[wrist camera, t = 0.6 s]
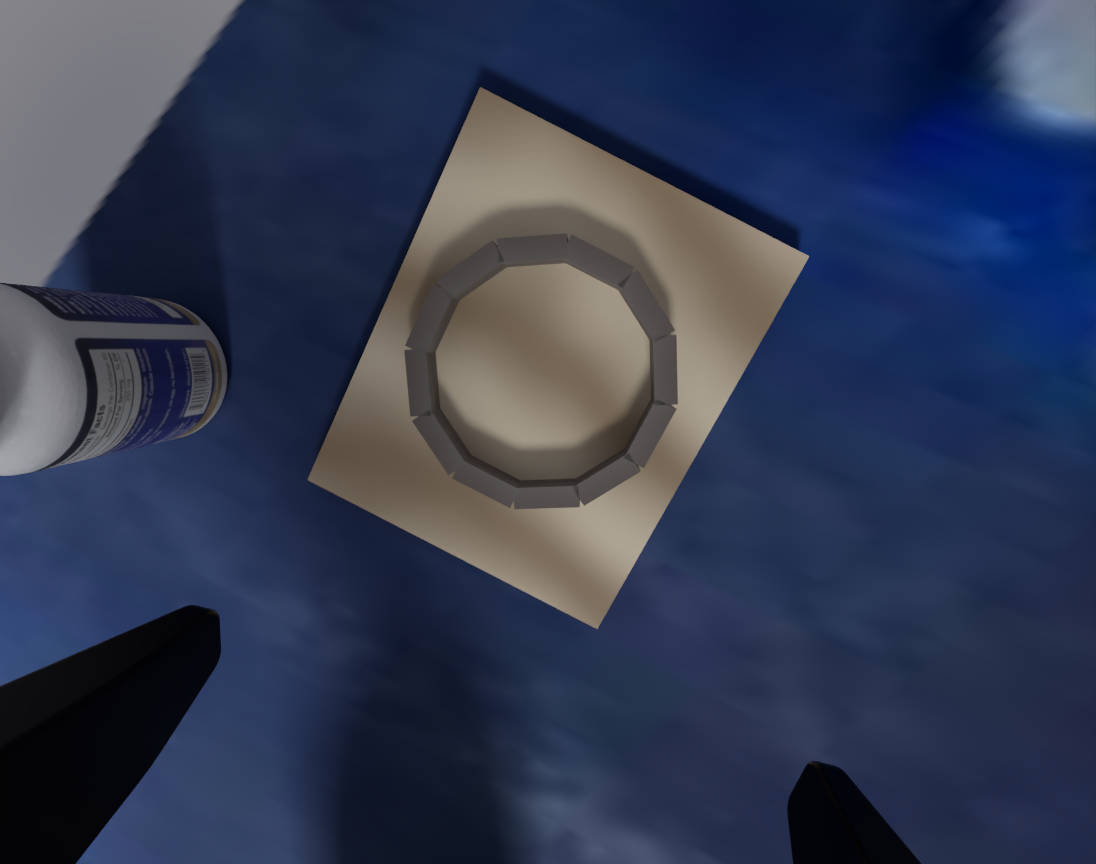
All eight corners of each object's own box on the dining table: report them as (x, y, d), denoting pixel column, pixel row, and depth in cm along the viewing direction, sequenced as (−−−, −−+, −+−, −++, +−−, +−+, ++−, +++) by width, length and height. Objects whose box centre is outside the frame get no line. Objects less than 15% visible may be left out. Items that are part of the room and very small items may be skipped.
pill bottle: (76, 355, 23) (-299, 360, 14) (172, 270, 22) (-153, 210, 13) (164, 464, 24) (-137, 546, 14) (261, 385, 23) (14, 414, 13)
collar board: (596, 617, 23) (597, 644, 21) (319, 474, 23) (291, 487, 21) (798, 260, 21) (823, 250, 18) (485, 99, 21) (473, 70, 18)
